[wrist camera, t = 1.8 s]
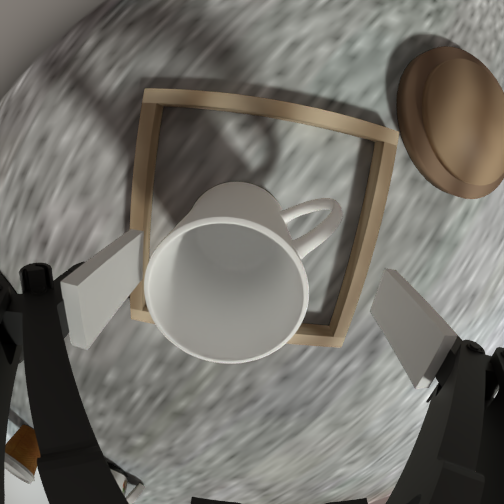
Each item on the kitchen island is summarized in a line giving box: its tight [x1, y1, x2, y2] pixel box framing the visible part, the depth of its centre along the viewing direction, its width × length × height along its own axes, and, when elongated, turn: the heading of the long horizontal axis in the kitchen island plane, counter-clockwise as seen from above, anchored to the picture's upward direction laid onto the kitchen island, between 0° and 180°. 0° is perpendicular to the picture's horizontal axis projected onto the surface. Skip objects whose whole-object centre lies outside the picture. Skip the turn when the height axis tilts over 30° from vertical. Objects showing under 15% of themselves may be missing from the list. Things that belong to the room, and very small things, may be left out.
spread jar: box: [107, 463, 145, 504], centre depth 36 cm, size 12×11×12 cm
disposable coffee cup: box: [4, 425, 40, 484], centre depth 34 cm, size 10×10×12 cm
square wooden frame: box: [130, 88, 399, 348], centre depth 24 cm, size 20×20×2 cm
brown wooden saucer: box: [396, 46, 504, 199], centre depth 20 cm, size 15×15×3 cm
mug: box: [144, 182, 343, 363], centre depth 19 cm, size 12×8×12 cm
